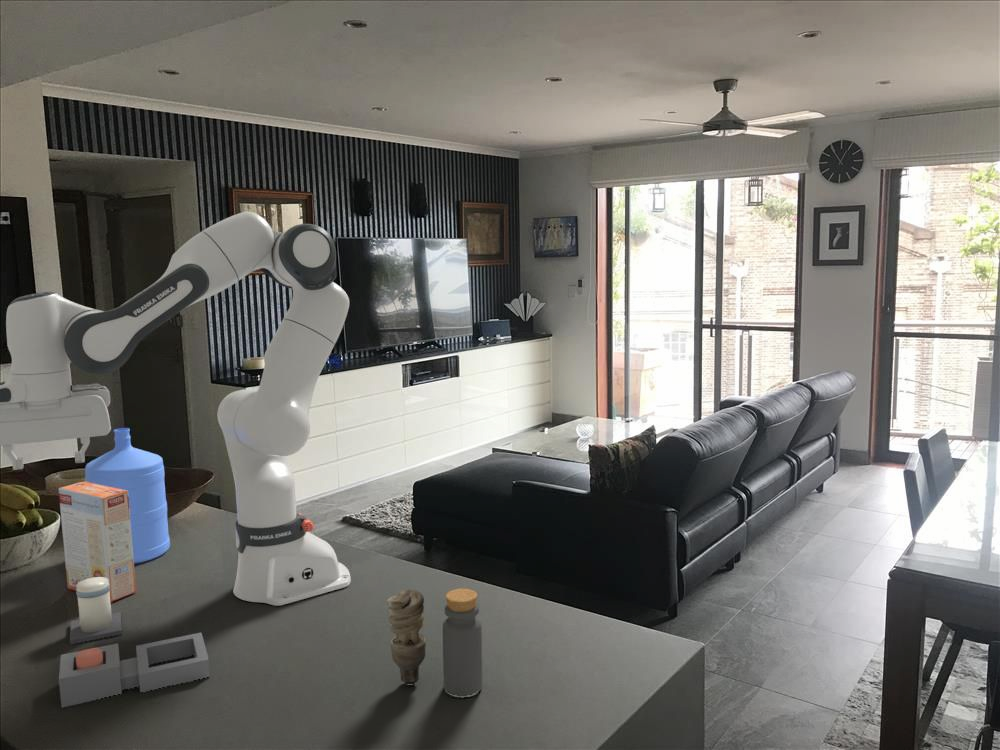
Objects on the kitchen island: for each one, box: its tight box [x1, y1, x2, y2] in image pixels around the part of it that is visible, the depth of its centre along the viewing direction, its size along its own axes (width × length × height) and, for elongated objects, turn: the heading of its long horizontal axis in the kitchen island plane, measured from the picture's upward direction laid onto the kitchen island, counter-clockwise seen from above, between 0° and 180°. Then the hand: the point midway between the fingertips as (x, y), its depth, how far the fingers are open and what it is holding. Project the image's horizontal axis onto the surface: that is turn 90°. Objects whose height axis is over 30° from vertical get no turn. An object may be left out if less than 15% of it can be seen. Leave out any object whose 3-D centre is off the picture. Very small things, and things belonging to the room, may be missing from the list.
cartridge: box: [75, 577, 112, 632], centre depth 141 cm, size 5×5×8 cm
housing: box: [58, 632, 211, 709], centre depth 125 cm, size 20×10×4 cm, turn 116°
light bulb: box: [386, 589, 427, 685], centre depth 122 cm, size 6×6×15 cm
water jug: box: [84, 427, 171, 565], centre depth 175 cm, size 16×16×28 cm
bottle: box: [442, 588, 483, 696], centre depth 121 cm, size 6×6×15 cm
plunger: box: [76, 647, 103, 670], centre depth 122 cm, size 4×4×5 cm
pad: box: [69, 611, 123, 645], centre depth 142 cm, size 8×8×1 cm
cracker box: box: [58, 481, 137, 603], centre depth 157 cm, size 14×6×21 cm, turn 59°
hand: (49, 465), depth 140 cm, fingers open, 8 cm apart
